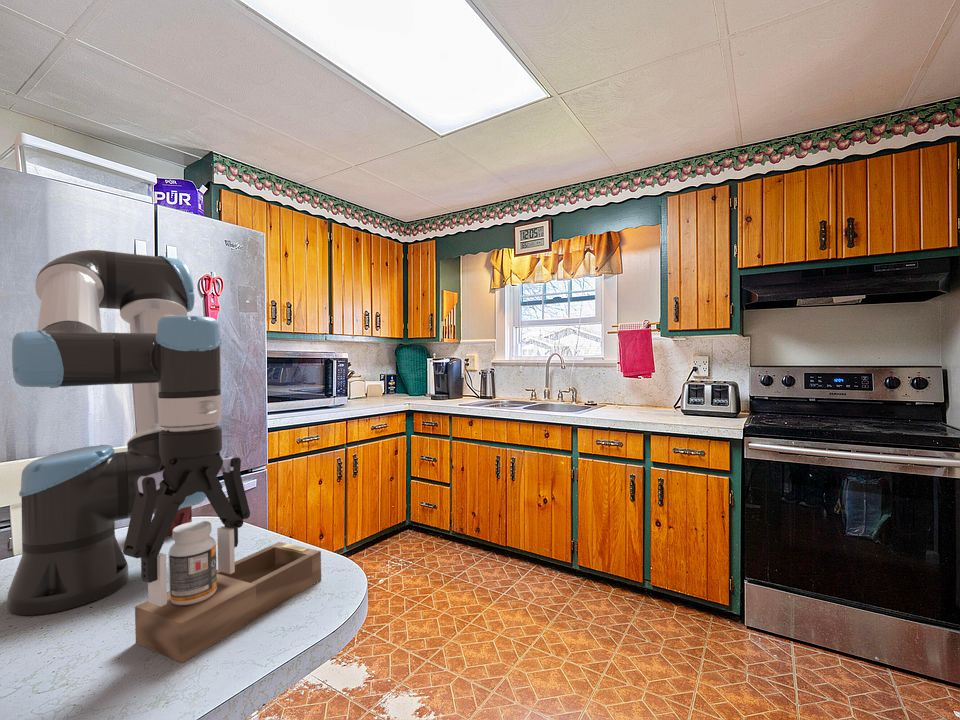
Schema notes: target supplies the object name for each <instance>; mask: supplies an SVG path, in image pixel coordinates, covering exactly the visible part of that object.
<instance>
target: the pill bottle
mask: <svg viewBox="0 0 960 720" xmlns="http://www.w3.org/2000/svg"><path fill="white" fill-rule="evenodd" d="M211 533H212V523H211V522H210V521H207V520H196V521H192V522H189V523H185V524H182V525H179V526H177V527H175V528H174V529H173V531H172V534H171V535H172V540H173V541H174V543H173V544H172V545H171V546H170V548H169V550H168V579H169V588H168V589H169V591H170V600H171V602H172V603H173V604H176V605H190V604H195V603H198V602H201V601H203V600H206V599H208V598H209V597H211V596H212V595H213V594H214V593H215V592H216V590H217V570H218V569H217V544H216V542H217V541H216V539H214V538H213V536H211Z"/></svg>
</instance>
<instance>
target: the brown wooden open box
mask: <svg viewBox="0 0 960 720" xmlns="http://www.w3.org/2000/svg"><path fill="white" fill-rule="evenodd" d="M216 570H217V590H216V592H215V593H214V594H213V595H212V596H211V597H209V598H208V599H206V600H203V601H201V602H198V603H195V604H190V605H176V604H173V603H172V602H171V600H170V590H169V591H167V604H166V605H164V606H161V607H160V606H158V605H155V604H152V603H149V602H148V600H146V601H143V602H142V603H139V604H137V605H135V606H134V621H135V622H134V626H135V627H134V628H135V629H134V630H135V644H137V645H140V646H142V647H144V648H147V649H149V650H150V651H154V652H156V653H158V654H161V655H163V656H165V657H167V658H170V659H172V660H175V661H176V662H180V663H184V662H186V661H189V659H190V658H193V657H194V656H196V655H198V654H199V653H201V652H202V651H204V650H206V649H208V648H210V647H211V646H213V645H214V644H216V643H218V642H220V641H222V640H223V639H225V638H227V637H228V636H230V635H231V634H233V633H235V632H236V631H238V630H240V629H242V628H243V627H245V626H247V625H249V624H250V623H252V622H253V621H255V620H256V619H258V618H259V617H261V616H263V615H265V614H267V613H268V612H270V611H271V610H274V609H275V608H277V607H278V606H280V605H281V604H283V603H285V602H287V601H288V600H290V599H292V598H293V597H295V596H297V595H299V594H300V593H302V592H303V591H306V590H307V589H309V588H310V587H312V586H314V585H315V584H317V583H318V582H317V581H319V580H320V581H322V551H321V550H316V549H312V548H309V547H304V546H300V545H296V544H292V543H286V542H281V541H279V542H276V543H274V544H272V545H269V546H267V547H264V548H263V549H261V550H258V551H256V552H254V553H251V554H249V555H247V556H245V557H242V558H240V559H237V560H235V572H234V573H232V574H228V573H224V572H220V571H218V569H216ZM320 581H319V582H320ZM316 582H317V583H316ZM314 583H315V584H314ZM313 584H314V585H313Z"/></svg>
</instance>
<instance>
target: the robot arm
mask: <svg viewBox="0 0 960 720" xmlns="http://www.w3.org/2000/svg"><path fill="white" fill-rule="evenodd" d="M34 286H35V287H34V288H35V292H36V295H37V297H38V299H39V300H40V308H39V316H38V320H37V321H38V322H37V329H36V330H35V331H20V332H17V333H16V334H15V335H14V336H13V338H12V342H11V344H12V345H11V346H12V347H11V363H12V364H11V365H12V367H11V368H12V375H13V379H14V382H15V383H16V384H17V385H18V386H20V387H24V388H50V389H54V388H55V389H57V388H67V387H82V386H83V387H85V386H102V385H104V386H105V385H108V386H109V385H130V384H131V385H132V384H133V390H134V391H133V393H134V408H135V409H134V411H135V422H136V423H135V425H136V427H135V428H136V433H135V434H134V435H133V436H132V437H131V438H130V439H128V441H127V444H126V445H127V446H126V447H127V450H126V451H120V452H115V449H114V448H113V446H112V445H109V444H101V445H90V446H84V447H79V448H73V449H69V450H64V451H61V452H56V453H53V454H50V455H46V456H43V457H39V458H37V459H36V460H35V459H34V460H33V461H31V462H29V463H28V464H26V465H25V467H24V468H23V469H22V471H21V480H20V491H19V492H18V496H19V497H21V546H22V547H21V549H22V550H21V558H20V561H19V562H18V563H19V564H18V566H17V569H16V570H15V574H14V576H13V579H12V581H11V584H10V586H9V589H8V592H7V610H8V611H9V613H11V614H14V615H19V616H20V615H21V616H36V615H44V614H45V615H46V614H51V613H58V612H61V611H66V610H70V609H74V608H77V607H80V606H85V605H86V604H89V603H92V602H95V601H97V600H100V599H102V598H104V597H106V596H108V595H110V594H112V593H114V592H116V591H117V590H119V589H121V588H122V587H123V586H124V585H125V584H126V583H127V581H128V580H129V564H128V562H127V559H126V557H125V556H128V557H131V558H135V559H140V568H141V569H140V573H141V574H140V575H141V579H142V581H143V582H145V583H147V589H148V591H147V593H148V597H147V598H148V599H147V601H148V602H149V603H152V604H155V605H158V606H160V607H161V606H164V605H166V604H167V592H168V591H167V590H168V589H167V588H168V587H167V586H168V585H167V554H165V553H163V552H161V550H162V547H163V545H164V543H165V540H166V538H167V536H168V535H167V534H168V532H169V529H170V527H171V525H172V522H173V520H174V518H175V515H176V513H177V511H178V510H179V509H181V508H185V507H189V506H196V505H200V504H201V503H202V502H204V501H205V500H206V499H207V500H208V501H209V503H210V505H211V506H212V508H213V510H214V512H215V513H216V515H217V517H218V519H219V520H220V522H221V523H222V525H223V526H219V527H217V570H218V571H220V572H224V573H228V574H232V573H234V572H235V561H236V560H235V558H236V557H235V548H237V547H238V545H239V529H241V528H242V527H243V525H244V520H247V519H249V518H250V516H251V511H250V507H249V503H248V499H247V495H246V491H245V486H244V483H243V482H244V481H243V478H242V474H241V466H242V460H241V458H240V457H236V456H229V455H228V456H225V457H223V458H222V456H221V451H222V450H223V430H222V429H223V428H222V427H221V426H220V425H217V424H219V423H220V422H221V421H222V394H221V387H222V386H221V379H222V378H221V345H222V339H221V336H220V334H221V333H220V325H219V324H220V323H219V322H218V320H217V319H215V318H214V317H211V316H201V315H199V316H198V315H188V313H189V312H191V311H193V309H194V306H195V298H196V297H195V292H194V289H195V288H194V281H193V277H192V274H191V271H190V269H189V267H188V265H187V264H186V263H185V261H182V260H180V258H179V259H178V258H174V257H173V258H171V257H168V256H164V255H158V256H154V255H145V254H137V253H136V254H135V253H128V252H127V253H126V252H118V251H110V250H102V249H101V250H100V249H86V250H81V251H80V250H79V251H74V252H71V253H67V254H65V255H61V256H58V257H57V258H55V259H53V260H52V261H49V262H48V263H47V264H45V265H44V266H43V267H42V268H41V269H40V270H39V272H38V274H37V276H36V280H35V285H34ZM100 309H107V310H108V309H109V310H110V309H111V310H112V309H113V310H119V314H120V315H119V316H120V317H121V319H122V320H123V321H125V322H126V323H127V324H129V327H130V328H129V329H130V332H103V328H102V321H101V313H100ZM220 471H221V472H222V479H223V481H224V482H223V483H224V485H225V490H226V493H227V496H228V497H227V496H226V494H225V492H224V490H223V485H222V483H221V481H220V480H219V478H218V474H219V473H220ZM154 513H155V515H154ZM153 515H154V516H153ZM125 519H126V520H127V519H129V523H128V528H127V532H126V535H125V541H124V546H123V548H121V547H120V544H119V542H118V540H117V538H116V533H115V532H116V531H115V530H116V529H115V526H116V524H115V523H116V521H121V520H125ZM122 549H123V550H122Z"/></svg>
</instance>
